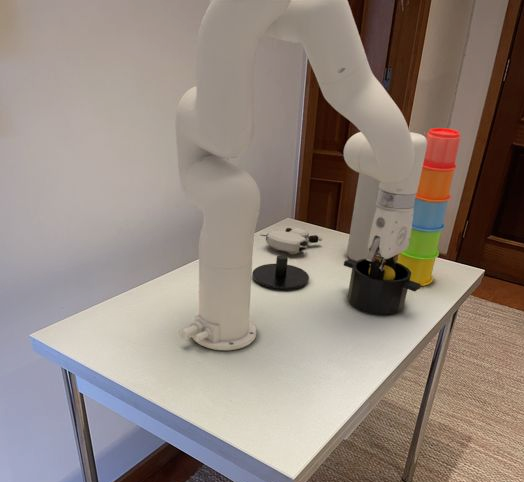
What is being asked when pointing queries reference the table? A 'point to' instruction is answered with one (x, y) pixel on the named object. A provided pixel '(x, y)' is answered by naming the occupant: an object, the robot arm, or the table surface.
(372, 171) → the robot arm
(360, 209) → the cylinder vase
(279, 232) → the robot toy
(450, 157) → the stacking cups
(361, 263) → the pan
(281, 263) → the pan lid
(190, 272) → the table surface
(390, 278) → the duck
